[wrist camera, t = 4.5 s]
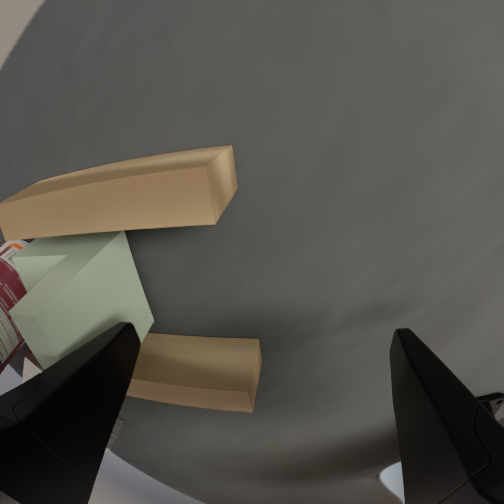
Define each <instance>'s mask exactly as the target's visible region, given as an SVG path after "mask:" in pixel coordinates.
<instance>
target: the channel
mask: <svg viewBox="0 0 504 504" xmlns="http://www.w3.org/2000/svg"><path fill="white" fill-rule="evenodd" d="M237 189H238V185H237V178H236V170H235V163H234V155H233V148H232V145H227V146H218V147H209V148H201V149H194V150H187V151H180V152H173V153H167V154H160V155H154V156H149V157H143V158H137V159H132V160H127V161H122V162H117V163H112V164H107V165H102V166H98V167H93V168H89V169H84V170H80V171H76V172H72V173H68V174H64V175H60V176H56V177H52V178H49V179H45V180H41V181H39V182H37V183H35V184H33V185H31V186H29V187H27V188H26V189H24V190H22V191H20V192H18V193H16V194H15V195H13V196H11V197H9V198H8V199H6V200H4V201H2V202H1V203H0V227H1V230H2V232H3V235H4V238H5V241H11V240H21V239H31V238H41V237H51V236H62V235H73V234H84V233H96V232H109V231H122V230H135V229H149V228H164V227H180V226H196V225H214V224H216V222H217V221H218V219H219V218H220V216H221V214H222V213H223V211H224V210H225V208H226V206H227V205H228V203H229V202H230V200H231V198H232V197H233V195H234V194H235V192H236V191H237ZM261 364H262V357H261V350H260V343H259V339H251V338H221V337H200V336H184V335H170V334H157V333H147V334H146V336H145V338H144V340H143V341H142V343H141V347H140V351H139V354H138V358H137V361H136V365H135V368H134V372H133V376H132V379H131V382H130V386H129V388H128V391H127V394H126V395H127V396H132V397H137V398H142V399H147V400H153V401H158V402H164V403H170V404H177V405H184V406H191V407H199V408H207V409H216V410H226V411H238V412H252V413H253V408H254V403H255V397H256V392H257V387H258V381H259V376H260V370H261Z"/></svg>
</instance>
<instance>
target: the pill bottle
mask: <svg viewBox="0 0 504 504" xmlns="http://www.w3.org/2000/svg"><path fill="white" fill-rule="evenodd" d="M28 244H29V243H28V242H26V241H24V240H11V241H7V242H5V243H4V244H3V245H1V246H0V374H1V372H2V371H3V370H4V368H5V367H6V366H7V364H8V363H9V362H10V361H11V359H12V358H13V356H14V355H15V354H16V353H17V352H18V350H19V349H20V348H21V346H22V345H23V344H24V343H25V340H24V338H23V337H22V335H21V333H20V332H19V330H18V328H17V327H16V325H15V323H14V321H13V320H12V318H11V316H10V314H9V311H10V310H11V309H12V308H13V307H14V306H15V305H16V304H17V303H18V302H19V301H20V300H21V299H22V298H23V297H24V296H25V295H26V294H27V291H26V289H25V287H24V285H23V282H22V280H21V278H20V276H19V274H18V271H17V269H16V267H15V264H14V262H13V260H12V256H14V255H15V254H16V253H17V252H19V251H20V250H21V249H22V248H24V247H25V246H26V245H28Z"/></svg>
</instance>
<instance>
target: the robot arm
mask: <svg viewBox="0 0 504 504" xmlns="http://www.w3.org/2000/svg"><path fill="white" fill-rule="evenodd" d="M140 347H141V341H140V338H139V336H138V334H137V331H136V329H135V326H134V325H133V324H132V323H131V322H124V321H122V322H119V323H117V324H116V325H114V326H113V327H111V328H109V329H108V330H106V331H105V332H103V333H101V334H100V335H98V336H97V337H95V338H94V339H92V340H90V341H89V342H87V343H86V344H84V345H83V346H81V347H79V348H78V349H76V350H75V351H73V352H71V353H70V354H68V355H67V356H65V357H64V358H62V359H60V360H59V361H57V362H56V363H54V364H53V365H51V366H50V367H48V368H46V369H45V370H43V371H42V372H41V373H38V374H37V375H35V376H34V377H32V378H31V379H29V380H27V381H26V382H24V383H23V384H21V385H19V386H17V387H16V388H14V389H12V390H10V391H8V392H6V393H5V394H3V395H1V396H0V504H88V501H89V498H90V495H91V492H92V489H93V485H94V482H95V479H96V476H97V473H98V470H99V468H100V465H101V461H102V459H103V456H104V453H105V450H106V447H107V445H108V442H109V439H110V436H111V433H112V431H113V428H114V425H115V423H116V420H117V417H118V415H119V412H120V409H121V407H122V404H123V401H124V399H125V396H126V394H127V391H128V388H129V386H130V382H131V379H132V376H133V372H134V368H135V365H136V361H137V358H138V354H139V351H140ZM390 366H391V380H392V397H393V406H394V413H395V419H396V426H397V433H398V440H399V447H400V456H401V464H402V473H403V484H404V496H405V504H504V427H503V426H502V425H501V424H500V423H499V422H498V421H497V420H496V419H495V416H494V415H495V414H496V412H497V411H498V410H499V408H500V407H501V405H502V404H503V403H504V393H499V394H495V395H491V396H487V397H483V398H479V399H477V398H476V397H475V396H474V395H473V394H472V393H471V392H470V391H469V390H468V389H467V388H466V386H465V385H464V384H463V383H462V382H461V381H460V380H459V379H458V378H457V377H456V376H455V375H454V374H453V373H452V372H451V370H450V369H449V368H448V367H447V366H446V365H445V364H444V363H443V362H442V361H441V360H440V359H439V358H438V357H437V356H436V355H435V354H434V353H433V352H432V351H431V350H430V349H429V348H428V347H427V346H426V345H425V344H424V343H423V342H422V341H421V340H420V339H419V338H418V337H417V336H416V335H415V334H414V333H413V332H412V331H411V330H410V329H409V328H401V329H396V330H395V332H394V335H393V340H392V344H391V348H390Z"/></svg>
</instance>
